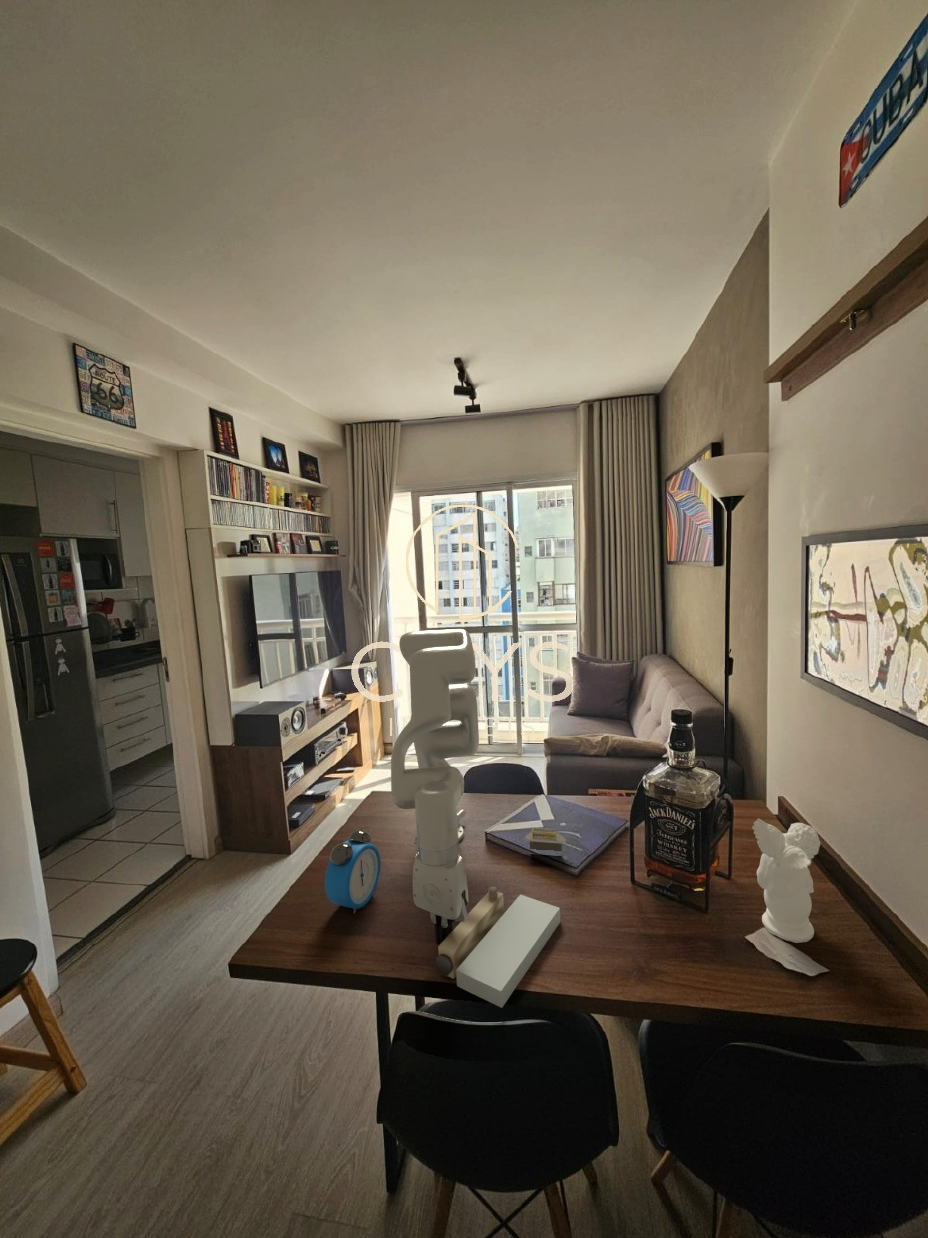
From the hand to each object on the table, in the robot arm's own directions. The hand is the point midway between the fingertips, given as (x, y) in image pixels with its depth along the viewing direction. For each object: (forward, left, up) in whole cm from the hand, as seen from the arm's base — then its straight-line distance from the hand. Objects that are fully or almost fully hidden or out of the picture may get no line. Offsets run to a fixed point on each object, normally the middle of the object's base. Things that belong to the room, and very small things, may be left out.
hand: (444, 940), depth 98 cm
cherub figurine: (-37, +54, -3) cm, 66 cm away
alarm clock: (-3, -27, -3) cm, 27 cm away
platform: (-40, +2, -3) cm, 40 cm away
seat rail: (-7, +11, -3) cm, 13 cm away
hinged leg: (-4, +4, -2) cm, 6 cm away
